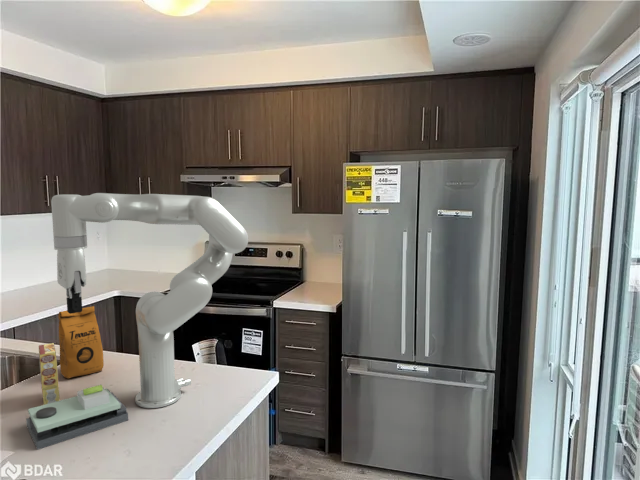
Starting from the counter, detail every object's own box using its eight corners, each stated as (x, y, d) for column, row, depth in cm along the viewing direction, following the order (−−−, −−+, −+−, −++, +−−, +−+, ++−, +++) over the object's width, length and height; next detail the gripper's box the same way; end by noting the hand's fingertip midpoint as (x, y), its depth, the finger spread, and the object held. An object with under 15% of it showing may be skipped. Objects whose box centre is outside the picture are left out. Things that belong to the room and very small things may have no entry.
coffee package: (106, 373, 152) (103, 308, 150) (64, 382, 145) (59, 315, 142) (99, 363, 160) (96, 302, 157) (58, 372, 153) (54, 307, 150)
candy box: (60, 403, 132) (56, 351, 130) (43, 406, 129) (39, 354, 127) (57, 391, 139) (54, 342, 137) (41, 394, 137) (37, 345, 135)
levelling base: (111, 401, 133) (111, 390, 132) (128, 420, 122) (127, 408, 122) (26, 425, 119) (25, 414, 119) (37, 449, 109) (36, 437, 108)
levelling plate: (108, 391, 131) (107, 374, 130) (122, 407, 122) (121, 388, 121) (28, 413, 118) (27, 394, 118) (37, 432, 109) (36, 412, 109)
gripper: (47, 240, 121) (52, 308, 124) (61, 247, 110) (65, 321, 112) (79, 238, 126) (82, 303, 128) (94, 244, 115) (98, 315, 117)
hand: (74, 311), depth 120 cm, fingers closed
